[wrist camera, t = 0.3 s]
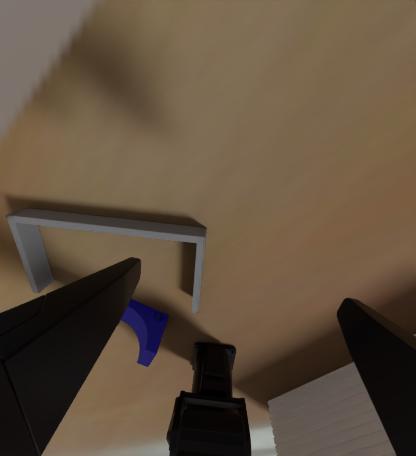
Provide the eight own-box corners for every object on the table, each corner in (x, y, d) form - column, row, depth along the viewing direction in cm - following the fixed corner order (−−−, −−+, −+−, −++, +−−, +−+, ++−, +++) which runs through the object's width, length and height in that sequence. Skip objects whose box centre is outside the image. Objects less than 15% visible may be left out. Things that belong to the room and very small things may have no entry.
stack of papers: (303, 424, 39) (330, 520, 29) (267, 399, 36) (283, 496, 26) (493, 352, 28) (641, 467, 18) (459, 311, 25) (609, 417, 16)
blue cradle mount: (84, 301, 30) (53, 338, 24) (91, 280, 28) (59, 314, 22) (157, 332, 31) (143, 373, 26) (168, 314, 29) (156, 353, 24)
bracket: (200, 298, 27) (197, 312, 25) (48, 280, 28) (32, 292, 26) (206, 228, 23) (204, 237, 21) (26, 207, 24) (5, 215, 21)
